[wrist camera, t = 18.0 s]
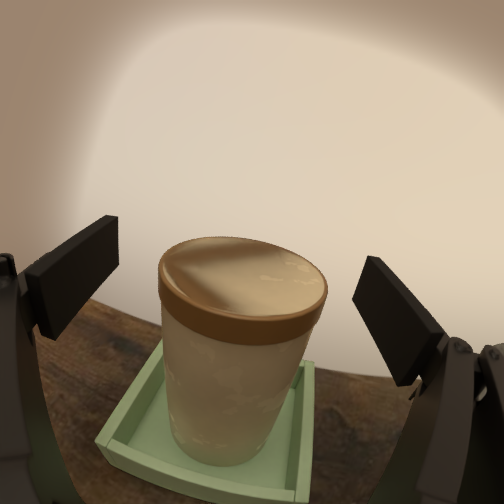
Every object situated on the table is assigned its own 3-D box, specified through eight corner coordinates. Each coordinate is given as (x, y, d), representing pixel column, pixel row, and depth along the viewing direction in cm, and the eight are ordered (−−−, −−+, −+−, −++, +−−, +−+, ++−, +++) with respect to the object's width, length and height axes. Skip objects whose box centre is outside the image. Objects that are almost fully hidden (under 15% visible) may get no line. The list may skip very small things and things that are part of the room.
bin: (109, 464, 10) (93, 440, 9) (170, 358, 20) (170, 326, 19) (289, 515, 9) (309, 503, 8) (301, 390, 19) (314, 361, 18)
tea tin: (153, 448, 12) (123, 286, 8) (187, 378, 17) (195, 227, 13) (261, 478, 11) (335, 338, 7) (274, 400, 17) (322, 254, 13)
